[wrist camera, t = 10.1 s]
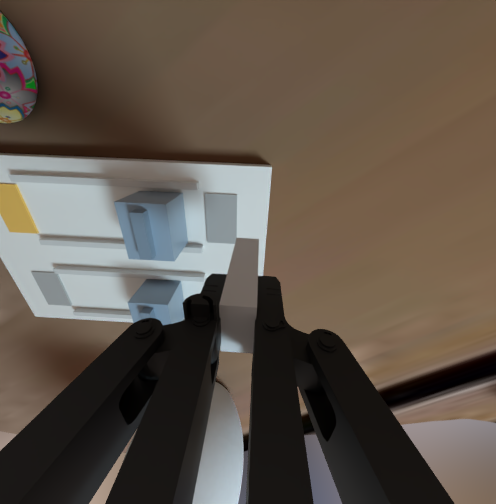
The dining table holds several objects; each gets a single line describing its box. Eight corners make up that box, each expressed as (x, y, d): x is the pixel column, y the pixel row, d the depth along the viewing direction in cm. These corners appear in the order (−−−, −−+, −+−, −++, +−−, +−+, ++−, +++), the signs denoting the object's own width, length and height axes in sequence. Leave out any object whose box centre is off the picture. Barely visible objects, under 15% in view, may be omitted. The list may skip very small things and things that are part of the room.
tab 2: (154, 311, 27) (134, 343, 22) (146, 278, 24) (122, 308, 20) (185, 313, 27) (171, 346, 22) (181, 280, 24) (164, 310, 20)
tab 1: (149, 239, 22) (123, 263, 18) (139, 190, 20) (107, 204, 15) (188, 241, 22) (170, 266, 18) (182, 192, 19) (161, 207, 15)
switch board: (48, 306, 30) (29, 320, 28) (-35, 151, 21) (-74, 152, 18) (258, 318, 30) (258, 335, 27) (270, 164, 20) (272, 168, 18)
